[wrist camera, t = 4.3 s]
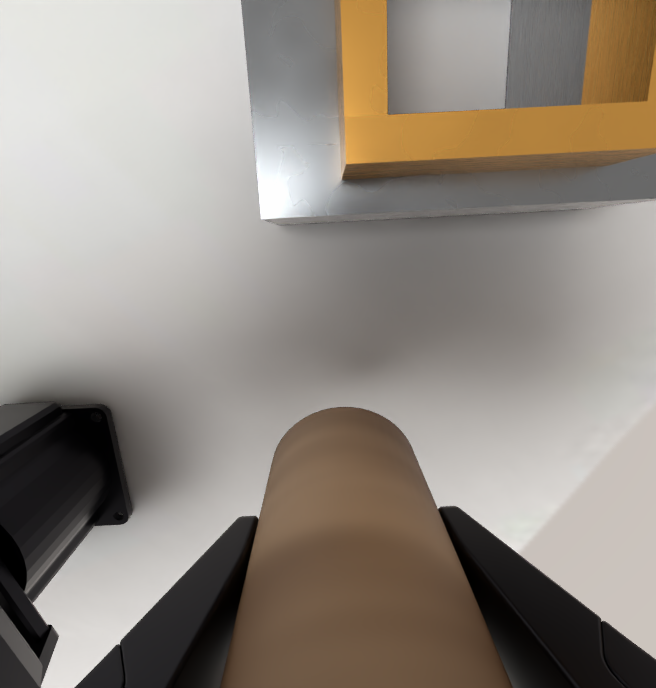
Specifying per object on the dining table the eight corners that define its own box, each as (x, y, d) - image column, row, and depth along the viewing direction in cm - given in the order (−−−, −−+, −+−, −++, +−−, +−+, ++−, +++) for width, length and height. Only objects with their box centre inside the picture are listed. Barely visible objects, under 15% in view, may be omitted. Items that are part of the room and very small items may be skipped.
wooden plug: (415, 530, 11) (733, 1536, 3) (277, 537, 11) (119, 1562, 3) (416, 403, 10) (963, 1367, 1) (264, 410, 10) (-78, 1412, 1)
